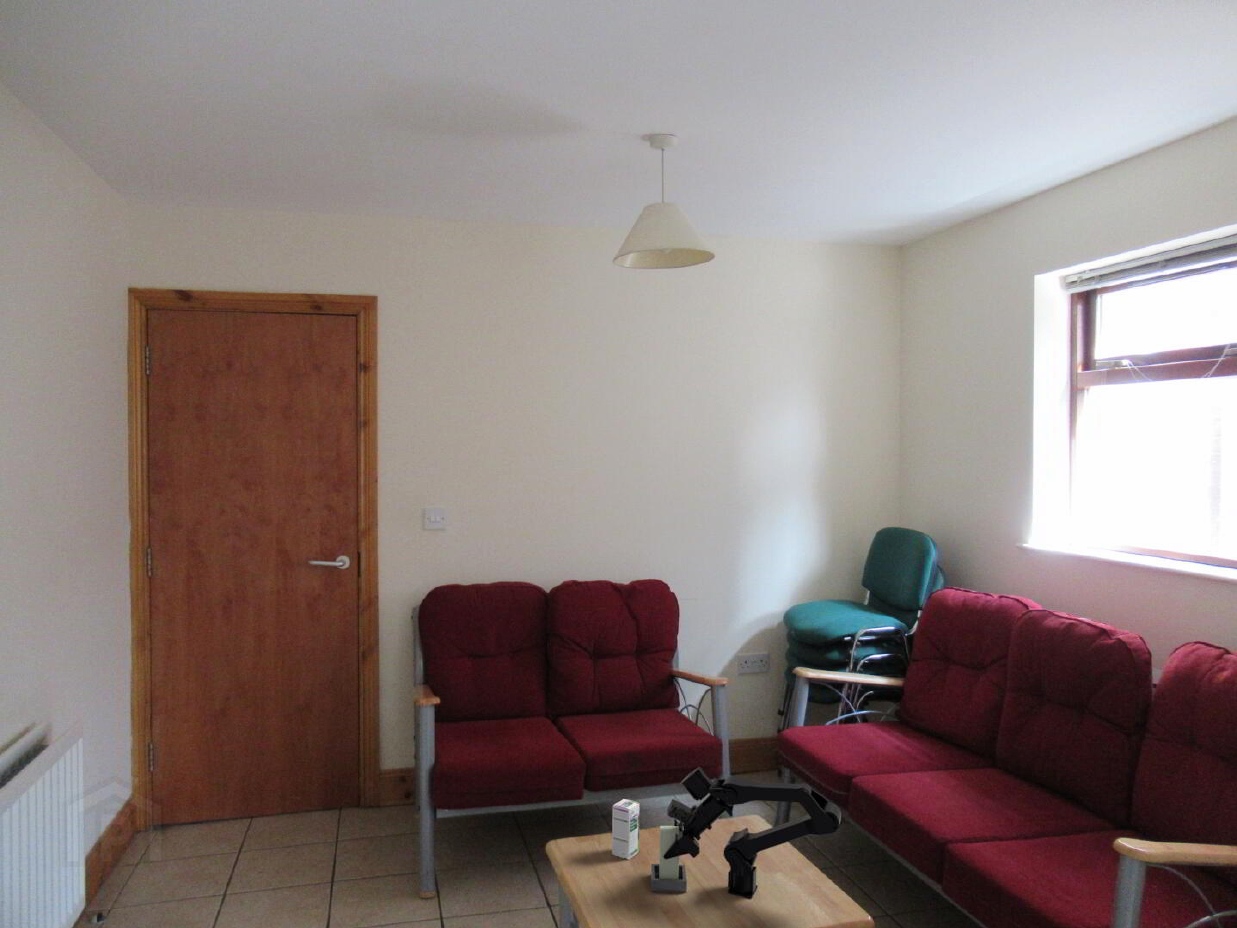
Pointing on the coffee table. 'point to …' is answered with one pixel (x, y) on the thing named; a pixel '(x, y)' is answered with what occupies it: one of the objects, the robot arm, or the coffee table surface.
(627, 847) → the syrup box
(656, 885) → the square socket
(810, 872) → the coffee table surface
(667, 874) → the sage block
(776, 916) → the coffee table surface
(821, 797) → the robot arm
